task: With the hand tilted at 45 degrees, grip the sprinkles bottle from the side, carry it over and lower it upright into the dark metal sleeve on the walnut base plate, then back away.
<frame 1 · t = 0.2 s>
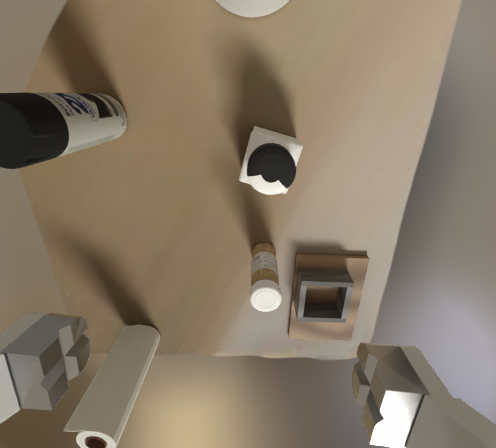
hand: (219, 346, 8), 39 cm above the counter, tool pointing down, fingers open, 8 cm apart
sprinkles bottle: (263, 252, 52), on the counter
spray can: (107, 117, 43), on the counter
socket block: (318, 285, 54), on the counter
paper towel roll: (146, 332, 61), on the counter
medicine bottle: (268, 154, 45), on the counter
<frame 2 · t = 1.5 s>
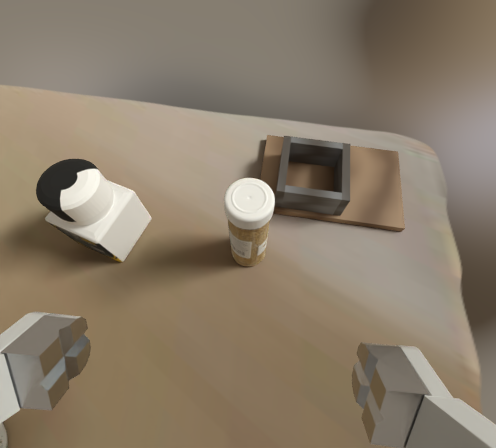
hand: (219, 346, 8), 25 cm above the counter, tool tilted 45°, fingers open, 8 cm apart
sprinkles bottle: (248, 251, 37), on the counter
socket block: (307, 187, 41), on the counter
medicine bottle: (116, 230, 38), on the counter
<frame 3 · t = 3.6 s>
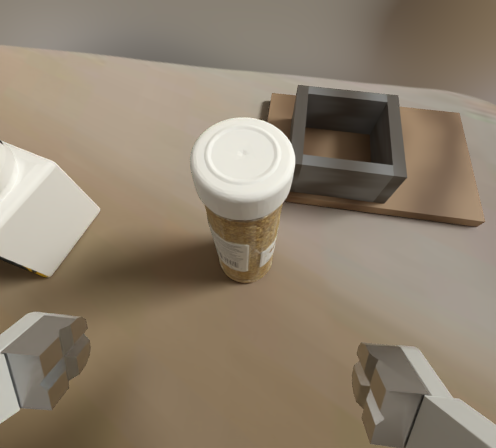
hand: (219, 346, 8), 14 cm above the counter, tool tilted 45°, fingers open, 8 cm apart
sprinkles bottle: (245, 258, 24), on the counter
socket block: (331, 164, 28), on the counter
medicine bottle: (47, 229, 25), on the counter
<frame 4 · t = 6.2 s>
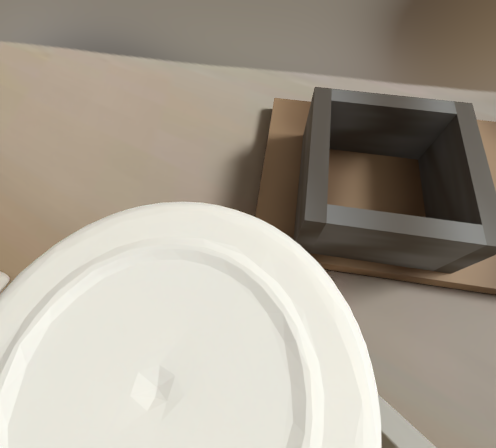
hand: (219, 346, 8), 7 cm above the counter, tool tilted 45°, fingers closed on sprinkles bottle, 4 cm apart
sprinkles bottle: (231, 365, 15), on the counter, touching gripper
socket block: (362, 203, 19), on the counter
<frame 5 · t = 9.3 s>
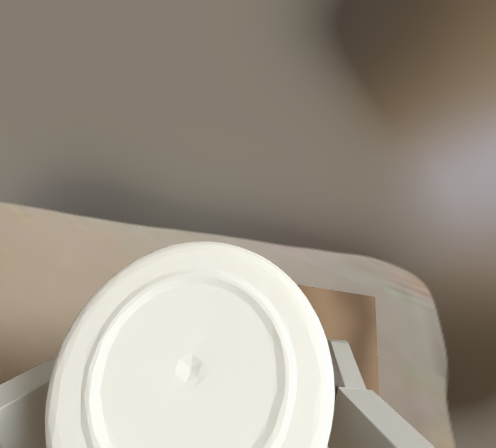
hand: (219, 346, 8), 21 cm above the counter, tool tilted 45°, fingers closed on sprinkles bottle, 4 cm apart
sprinkles bottle: (234, 369, 16), point 12 cm above the counter, touching gripper
socket block: (239, 359, 28), on the counter
when the fingers open (10 cm above the counter, at t = 12.6 s): sprinkles bottle stays where it is, resting on socket block.
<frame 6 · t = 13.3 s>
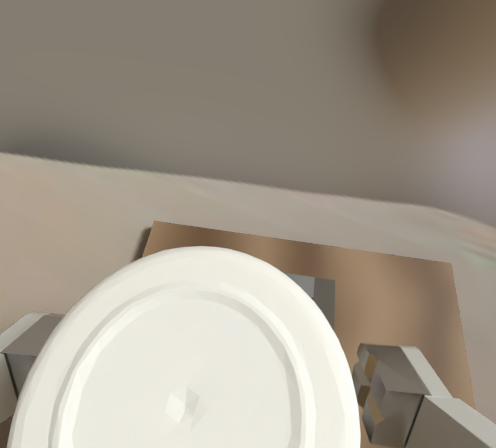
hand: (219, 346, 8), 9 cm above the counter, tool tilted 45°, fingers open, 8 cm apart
sprinkles bottle: (234, 370, 16), point 1 cm above the counter, touching socket block
socket block: (233, 364, 17), on the counter
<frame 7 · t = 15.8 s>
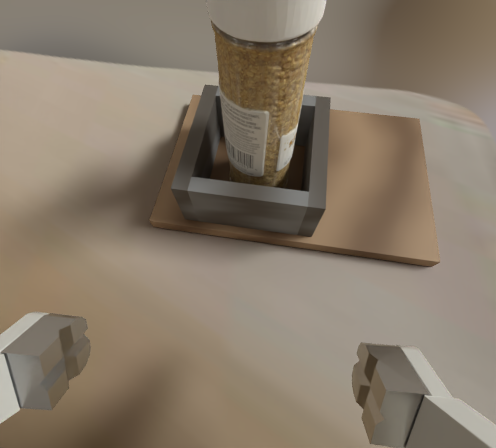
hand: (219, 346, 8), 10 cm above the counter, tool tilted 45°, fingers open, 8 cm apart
sprinkles bottle: (257, 180, 22), point 1 cm above the counter, touching socket block
socket block: (256, 183, 22), on the counter
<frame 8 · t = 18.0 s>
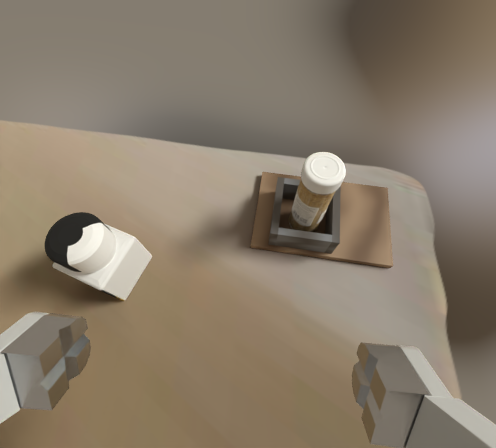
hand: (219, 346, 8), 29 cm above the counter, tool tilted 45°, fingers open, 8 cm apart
sprinkles bottle: (302, 223, 42), point 1 cm above the counter, touching socket block
socket block: (300, 224, 43), on the counter
medicine bottle: (119, 268, 40), on the counter
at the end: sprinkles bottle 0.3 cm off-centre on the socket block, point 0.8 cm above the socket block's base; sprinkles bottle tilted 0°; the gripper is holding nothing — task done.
